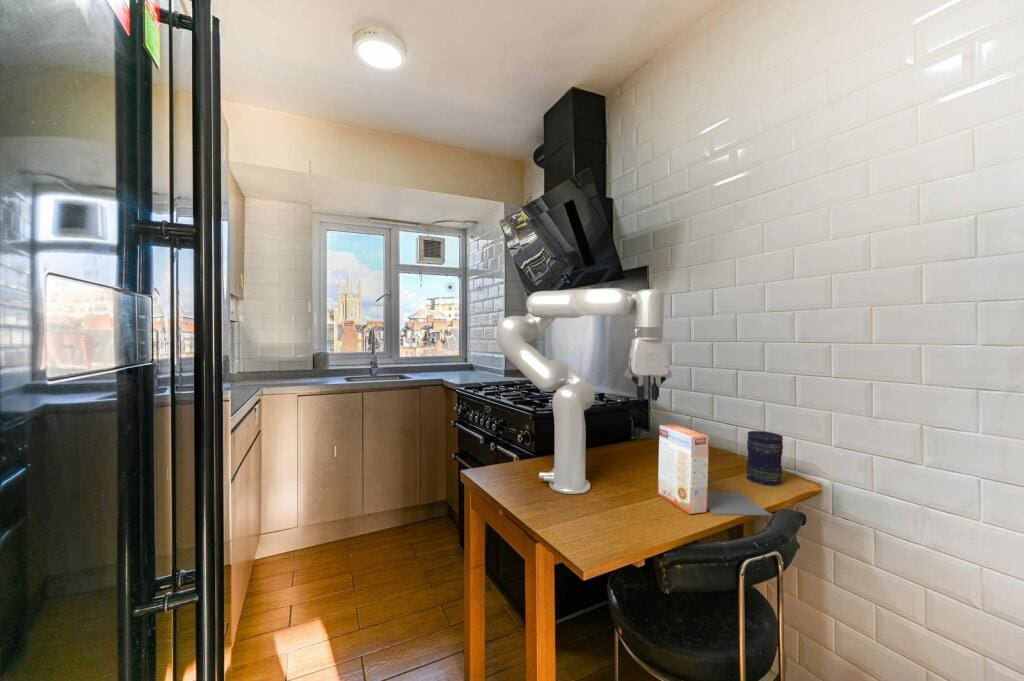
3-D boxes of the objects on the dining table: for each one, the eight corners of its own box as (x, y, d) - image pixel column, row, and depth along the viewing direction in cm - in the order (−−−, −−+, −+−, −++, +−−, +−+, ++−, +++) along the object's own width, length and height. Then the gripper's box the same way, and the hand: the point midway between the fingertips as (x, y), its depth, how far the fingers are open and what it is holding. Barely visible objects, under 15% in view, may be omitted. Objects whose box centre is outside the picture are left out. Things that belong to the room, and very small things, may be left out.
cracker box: (708, 513, 107) (710, 435, 106) (689, 515, 105) (690, 436, 105) (674, 492, 120) (676, 423, 120) (657, 494, 119) (658, 424, 118)
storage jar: (743, 473, 137) (744, 429, 136) (776, 477, 134) (778, 432, 133) (749, 483, 127) (751, 437, 127) (786, 488, 124) (787, 440, 124)
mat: (713, 514, 106) (713, 513, 106) (690, 493, 120) (690, 491, 120) (770, 515, 106) (770, 514, 106) (740, 493, 120) (740, 492, 120)
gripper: (622, 334, 108) (621, 402, 108) (684, 334, 108) (682, 402, 108) (615, 333, 115) (614, 397, 116) (673, 334, 115) (671, 398, 116)
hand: (647, 399), depth 112 cm, fingers open, 3 cm apart
